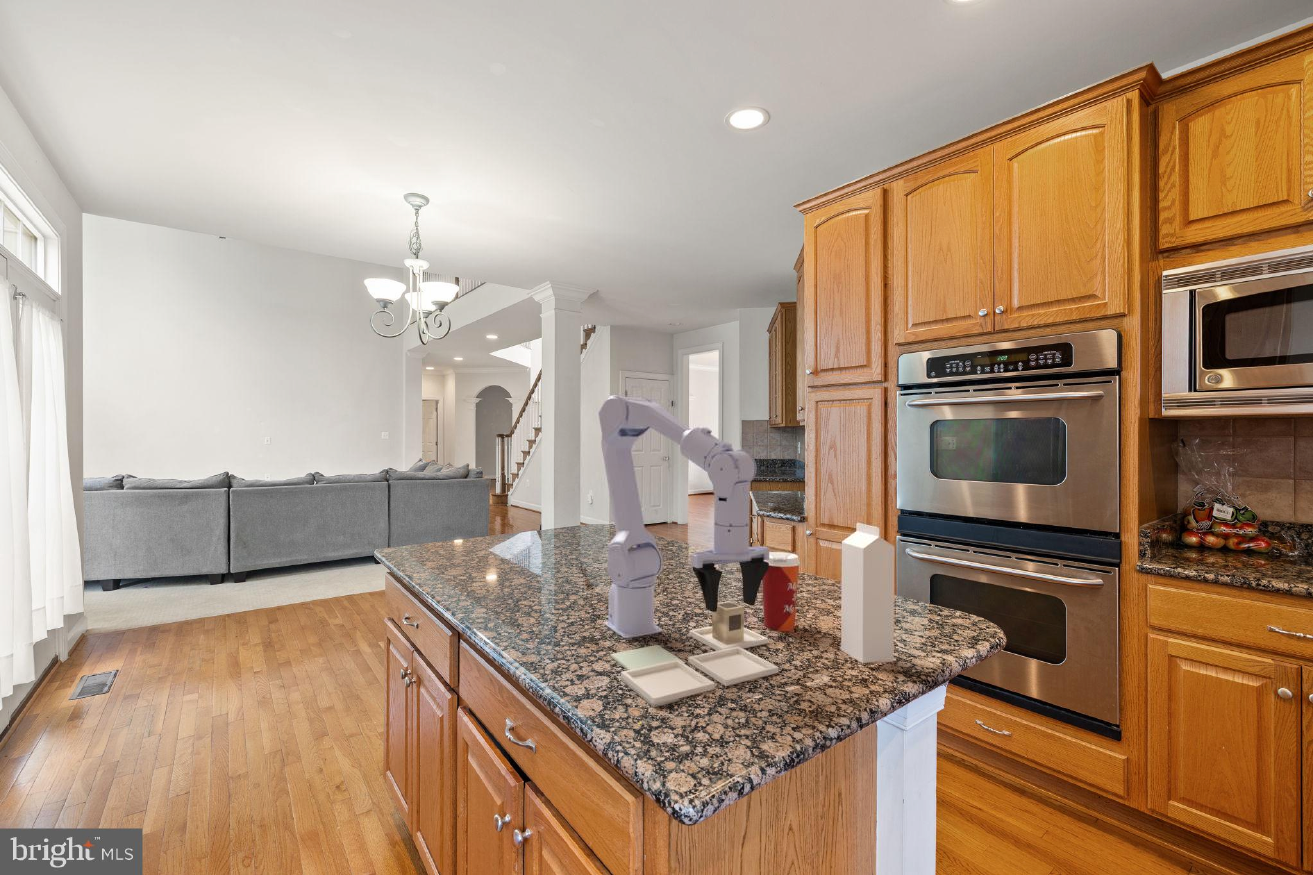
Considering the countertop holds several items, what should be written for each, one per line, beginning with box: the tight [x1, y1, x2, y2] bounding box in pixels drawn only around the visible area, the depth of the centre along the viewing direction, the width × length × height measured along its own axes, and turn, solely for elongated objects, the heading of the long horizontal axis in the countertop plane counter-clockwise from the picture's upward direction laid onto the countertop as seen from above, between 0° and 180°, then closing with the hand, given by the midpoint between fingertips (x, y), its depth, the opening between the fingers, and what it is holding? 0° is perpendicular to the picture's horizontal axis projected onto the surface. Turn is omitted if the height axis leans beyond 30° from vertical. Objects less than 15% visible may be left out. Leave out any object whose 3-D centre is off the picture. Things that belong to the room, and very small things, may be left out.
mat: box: [609, 644, 686, 671], centre depth 92 cm, size 9×9×1 cm
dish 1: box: [620, 659, 715, 708], centre depth 83 cm, size 10×10×1 cm
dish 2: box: [688, 626, 769, 651], centre depth 102 cm, size 10×10×1 cm
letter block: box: [711, 600, 745, 644], centre depth 102 cm, size 4×4×6 cm
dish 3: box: [687, 646, 780, 687], centre depth 89 cm, size 10×10×1 cm
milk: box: [840, 522, 895, 665], centre depth 95 cm, size 6×6×22 cm
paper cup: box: [761, 551, 802, 632], centre depth 109 cm, size 8×8×14 cm
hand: (730, 607), depth 93 cm, fingers open, 7 cm apart
